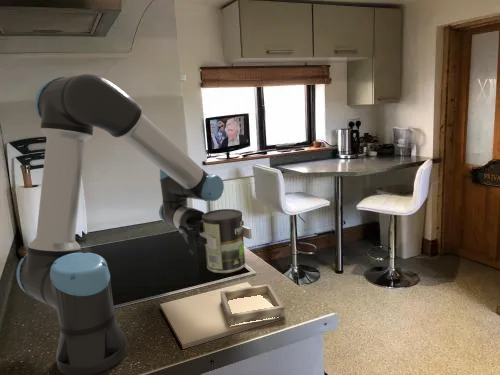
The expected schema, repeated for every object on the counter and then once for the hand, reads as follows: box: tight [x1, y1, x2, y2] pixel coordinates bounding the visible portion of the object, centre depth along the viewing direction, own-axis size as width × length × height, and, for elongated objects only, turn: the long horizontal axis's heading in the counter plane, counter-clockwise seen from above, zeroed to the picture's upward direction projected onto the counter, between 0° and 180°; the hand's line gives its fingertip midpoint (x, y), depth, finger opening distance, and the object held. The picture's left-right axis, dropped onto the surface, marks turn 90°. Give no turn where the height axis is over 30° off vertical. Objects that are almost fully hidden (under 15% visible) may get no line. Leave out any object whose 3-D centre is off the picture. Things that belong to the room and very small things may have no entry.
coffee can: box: [202, 208, 246, 274], centre depth 110 cm, size 10×10×14 cm
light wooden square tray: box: [219, 283, 286, 327], centre depth 114 cm, size 14×14×3 cm
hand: (233, 238), depth 106 cm, fingers closed on coffee can, 10 cm apart
